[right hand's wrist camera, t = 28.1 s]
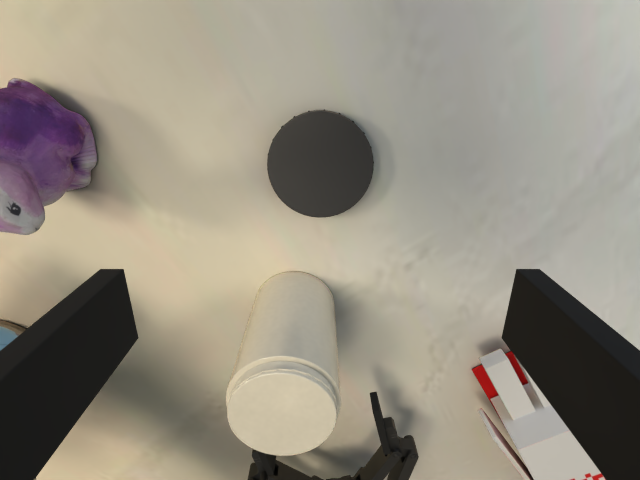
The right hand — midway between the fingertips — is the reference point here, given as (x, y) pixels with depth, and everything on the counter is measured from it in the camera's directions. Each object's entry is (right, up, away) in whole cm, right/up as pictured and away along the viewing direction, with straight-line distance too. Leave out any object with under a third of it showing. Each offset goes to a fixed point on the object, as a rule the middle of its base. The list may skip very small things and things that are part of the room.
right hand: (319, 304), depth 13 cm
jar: (-3, -6, +32) cm, 32 cm away
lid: (0, +9, +24) cm, 26 cm away
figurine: (-26, +12, +25) cm, 37 cm away
